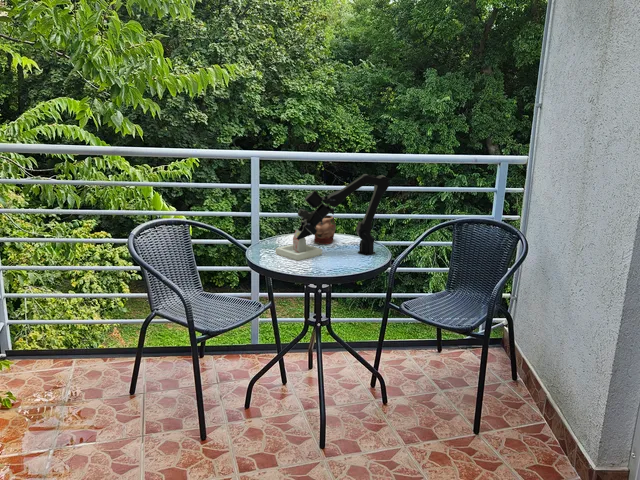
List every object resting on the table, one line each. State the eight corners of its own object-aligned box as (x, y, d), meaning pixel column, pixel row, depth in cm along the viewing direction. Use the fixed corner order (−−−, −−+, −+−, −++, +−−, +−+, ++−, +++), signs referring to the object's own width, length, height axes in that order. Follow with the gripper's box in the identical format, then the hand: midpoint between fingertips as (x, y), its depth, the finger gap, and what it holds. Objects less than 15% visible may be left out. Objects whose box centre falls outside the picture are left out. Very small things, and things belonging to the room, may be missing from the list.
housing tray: (322, 255, 272) (322, 249, 272) (297, 261, 261) (297, 255, 261) (300, 248, 283) (300, 242, 283) (275, 254, 273) (275, 248, 272)
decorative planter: (318, 236, 308) (318, 211, 305) (339, 238, 305) (340, 213, 302) (307, 245, 290) (307, 218, 286) (330, 247, 287) (330, 220, 283)
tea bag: (299, 248, 276) (299, 229, 273) (305, 252, 270) (306, 231, 267) (293, 249, 274) (292, 229, 271) (299, 252, 268) (299, 232, 266)
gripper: (305, 199, 275) (283, 221, 277) (309, 206, 258) (286, 230, 259) (321, 214, 278) (299, 236, 280) (326, 223, 261) (303, 246, 262)
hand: (296, 237), depth 270 cm, fingers closed on tea bag, 7 cm apart
